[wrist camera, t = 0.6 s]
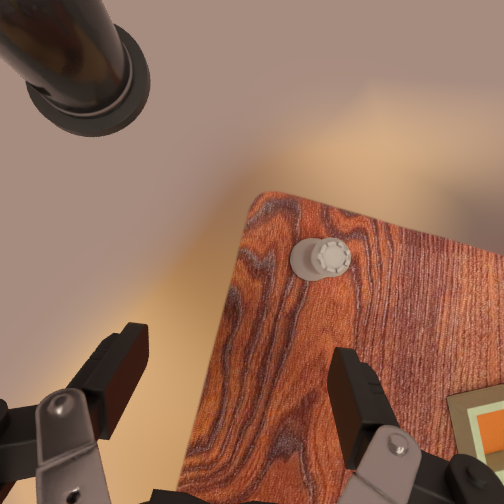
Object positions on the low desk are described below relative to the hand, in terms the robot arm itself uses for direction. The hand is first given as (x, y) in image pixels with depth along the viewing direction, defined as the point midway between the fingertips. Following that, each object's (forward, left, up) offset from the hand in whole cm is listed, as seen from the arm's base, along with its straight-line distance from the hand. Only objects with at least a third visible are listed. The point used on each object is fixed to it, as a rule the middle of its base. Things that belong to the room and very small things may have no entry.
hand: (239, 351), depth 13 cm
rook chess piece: (-3, +8, -19) cm, 21 cm away
